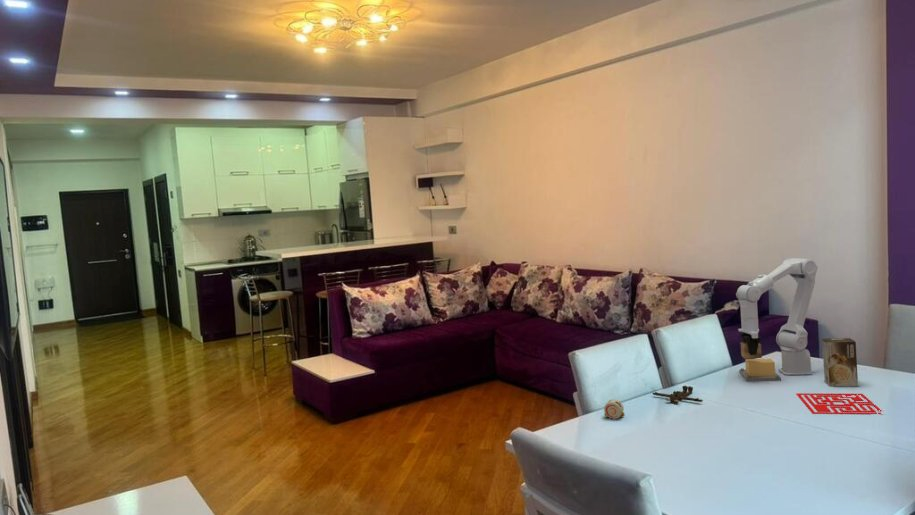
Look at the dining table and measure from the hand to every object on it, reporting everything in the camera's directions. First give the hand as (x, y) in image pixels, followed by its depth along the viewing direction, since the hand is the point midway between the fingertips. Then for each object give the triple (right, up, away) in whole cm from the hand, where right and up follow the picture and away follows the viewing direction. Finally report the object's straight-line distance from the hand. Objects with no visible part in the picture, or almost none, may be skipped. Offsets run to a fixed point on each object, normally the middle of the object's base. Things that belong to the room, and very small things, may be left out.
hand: (751, 353), depth 231 cm
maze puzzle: (+14, -12, -31) cm, 36 cm away
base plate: (+5, -10, +4) cm, 11 cm away
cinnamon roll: (-58, -18, -27) cm, 66 cm away
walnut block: (0, -1, 0) cm, 1 cm away
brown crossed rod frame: (-31, -15, -13) cm, 37 cm away
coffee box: (+26, -9, -12) cm, 30 cm away
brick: (+5, -8, +3) cm, 10 cm away
